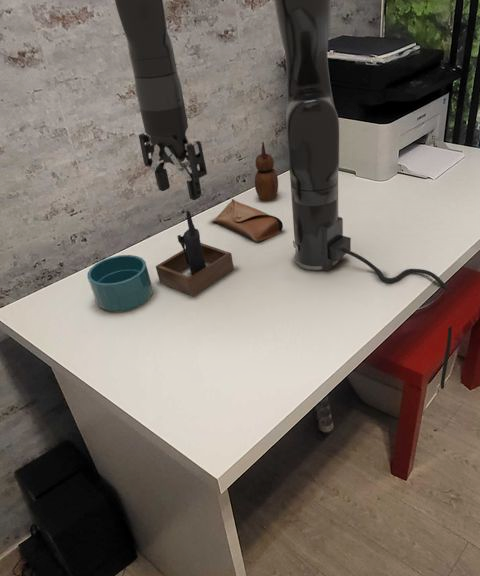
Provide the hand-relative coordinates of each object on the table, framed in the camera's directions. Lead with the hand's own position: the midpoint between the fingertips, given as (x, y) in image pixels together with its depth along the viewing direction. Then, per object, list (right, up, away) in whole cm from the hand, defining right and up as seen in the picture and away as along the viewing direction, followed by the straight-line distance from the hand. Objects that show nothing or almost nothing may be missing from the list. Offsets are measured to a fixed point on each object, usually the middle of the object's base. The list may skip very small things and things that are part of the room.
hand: (179, 193), depth 100 cm
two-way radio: (+1, -14, +12) cm, 18 cm away
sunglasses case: (+10, 0, +28) cm, 30 cm away
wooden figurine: (+15, +11, +40) cm, 44 cm away
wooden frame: (+1, -14, +11) cm, 18 cm away
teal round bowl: (-12, -19, +7) cm, 24 cm away
